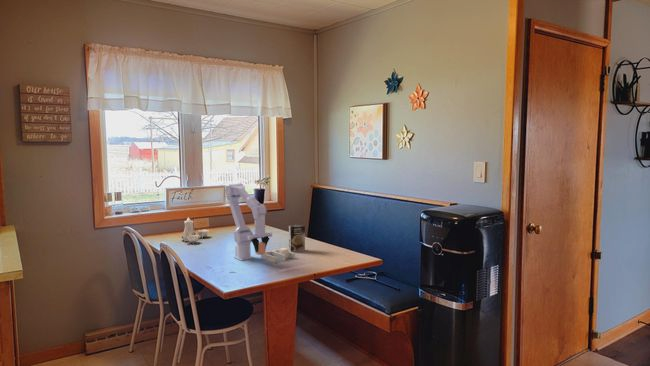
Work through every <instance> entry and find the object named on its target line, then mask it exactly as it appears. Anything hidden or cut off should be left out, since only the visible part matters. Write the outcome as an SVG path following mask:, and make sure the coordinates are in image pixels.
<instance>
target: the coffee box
mask: <svg viewBox="0 0 650 366" xmlns="http://www.w3.org/2000/svg"><path fill="white" fill-rule="evenodd" d="M305 227H306V226H305V225H304V224H291V225H288V249H289V251H290V252H293V253H297V252H305V251H306V228H305Z"/></svg>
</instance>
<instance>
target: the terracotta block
mask: <svg viewBox="0 0 650 366" xmlns="http://www.w3.org/2000/svg"><path fill="white" fill-rule="evenodd" d="M254 251H255V250H254ZM265 252H266V250H265V243H263V242H262V241H259V244H258V252H256V251H255V254H256V255H258V256H261V255H262V254H265Z"/></svg>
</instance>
